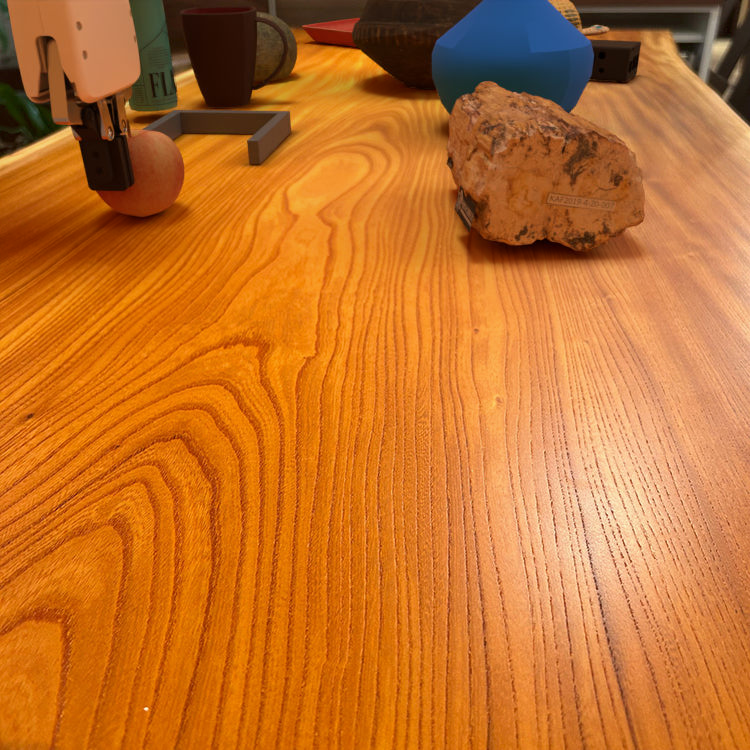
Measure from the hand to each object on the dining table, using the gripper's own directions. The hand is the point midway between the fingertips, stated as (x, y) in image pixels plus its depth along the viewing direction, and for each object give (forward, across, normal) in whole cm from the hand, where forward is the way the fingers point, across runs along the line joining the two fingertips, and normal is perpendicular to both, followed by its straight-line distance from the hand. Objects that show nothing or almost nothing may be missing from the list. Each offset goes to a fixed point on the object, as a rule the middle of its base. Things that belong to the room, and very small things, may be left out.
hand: (112, 187), depth 62 cm
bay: (+4, -28, -2) cm, 29 cm away
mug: (+4, -52, -6) cm, 52 cm away
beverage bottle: (+4, -42, -14) cm, 45 cm away
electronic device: (+4, -75, +45) cm, 87 cm away
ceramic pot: (+4, -68, +20) cm, 71 cm away
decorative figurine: (+4, -101, +38) cm, 108 cm away
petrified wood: (+4, -8, +33) cm, 34 cm away
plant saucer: (+4, -115, +1) cm, 115 cm away
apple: (+4, -5, 0) cm, 7 cm away
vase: (+4, -39, +31) cm, 50 cm away
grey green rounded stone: (+4, -72, -10) cm, 73 cm away
